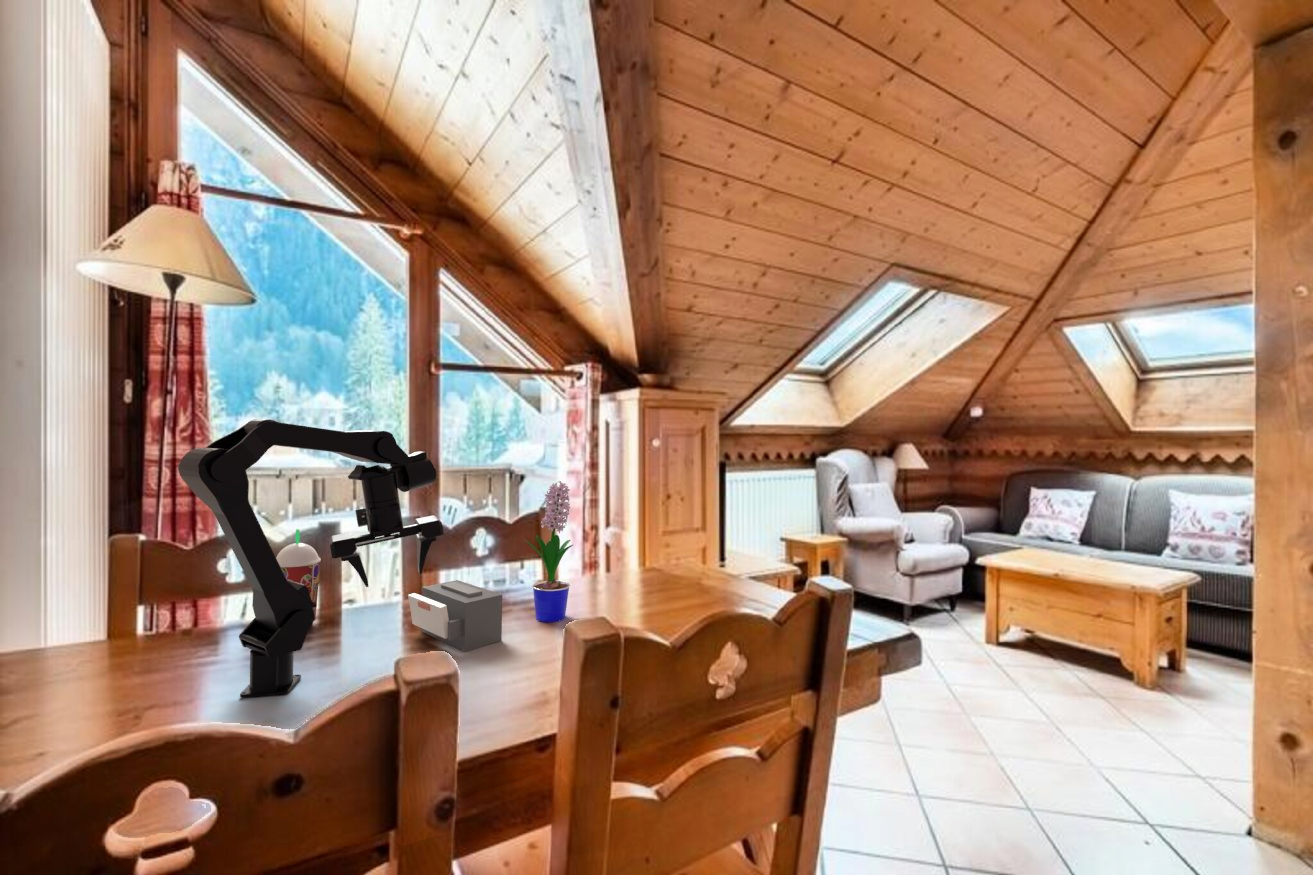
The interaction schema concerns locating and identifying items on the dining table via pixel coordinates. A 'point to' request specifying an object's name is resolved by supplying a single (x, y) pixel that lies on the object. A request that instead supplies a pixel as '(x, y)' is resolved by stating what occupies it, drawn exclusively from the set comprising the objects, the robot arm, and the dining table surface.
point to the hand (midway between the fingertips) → (394, 579)
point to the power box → (468, 614)
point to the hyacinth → (552, 558)
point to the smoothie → (301, 566)
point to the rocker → (429, 614)
